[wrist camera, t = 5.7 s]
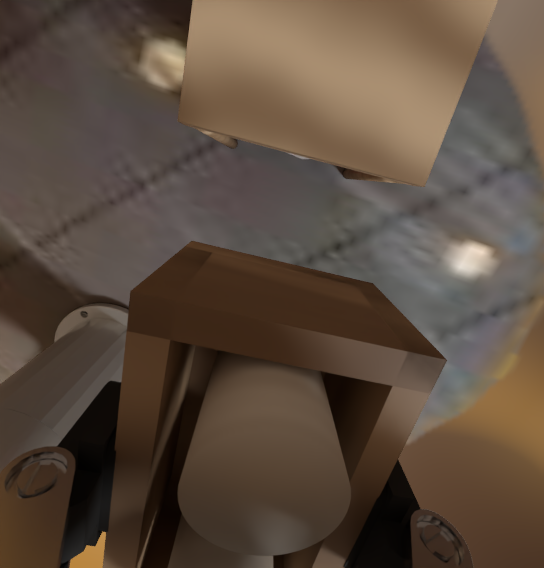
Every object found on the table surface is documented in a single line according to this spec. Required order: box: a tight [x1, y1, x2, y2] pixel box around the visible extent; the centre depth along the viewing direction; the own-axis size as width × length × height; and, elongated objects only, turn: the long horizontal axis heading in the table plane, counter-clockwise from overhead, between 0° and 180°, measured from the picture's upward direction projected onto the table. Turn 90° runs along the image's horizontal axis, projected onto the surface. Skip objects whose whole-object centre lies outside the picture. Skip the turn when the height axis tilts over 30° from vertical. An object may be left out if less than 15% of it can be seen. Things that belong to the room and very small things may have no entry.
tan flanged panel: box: [178, 0, 498, 187], centre depth 20 cm, size 13×13×20 cm
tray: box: [103, 241, 447, 568], centre depth 9 cm, size 10×6×6 cm, turn 166°
